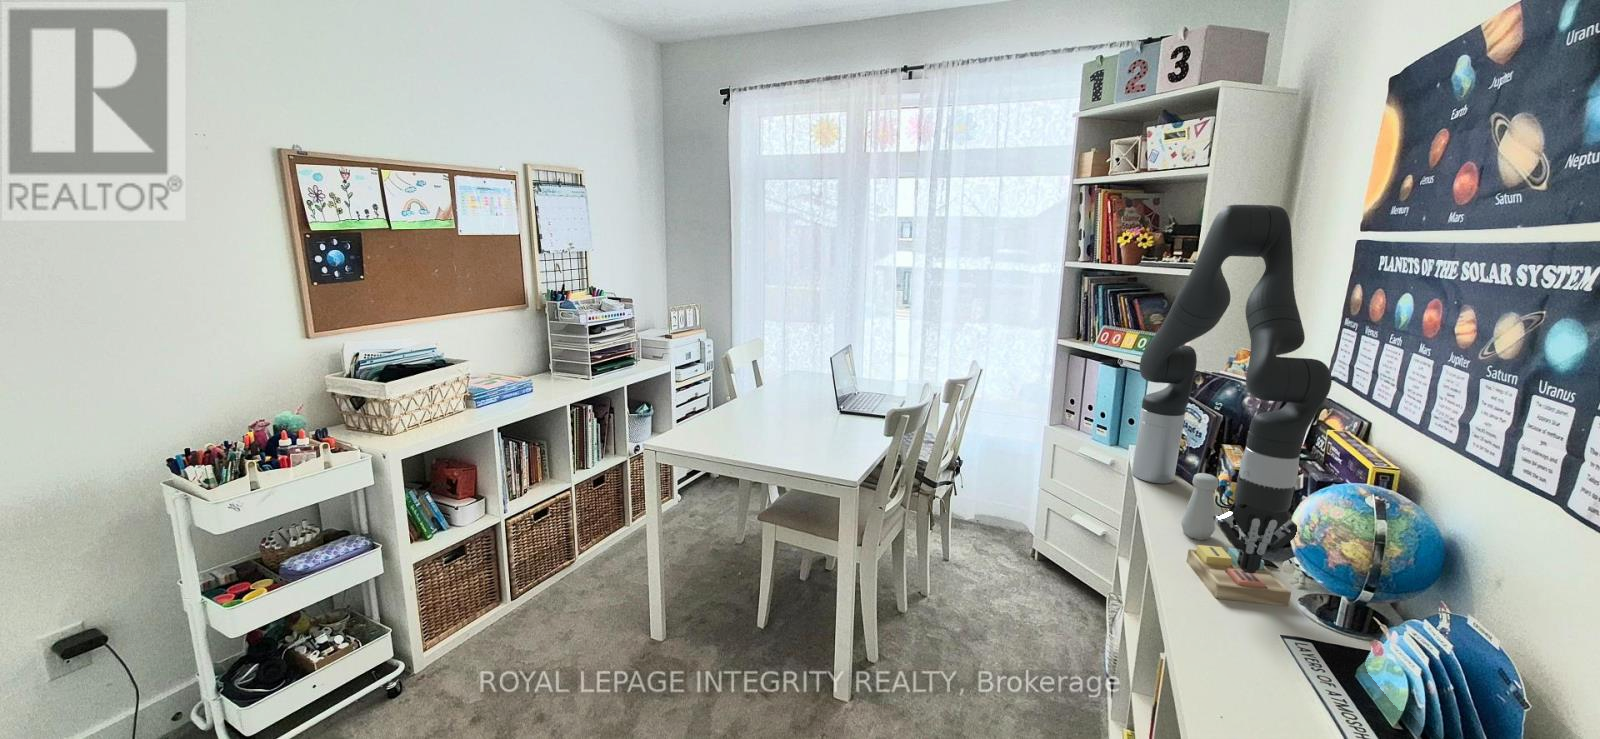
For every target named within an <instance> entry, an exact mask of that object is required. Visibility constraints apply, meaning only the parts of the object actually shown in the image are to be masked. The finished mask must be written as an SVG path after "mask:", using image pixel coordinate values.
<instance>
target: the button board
mask: <svg viewBox="0 0 1600 739" xmlns="http://www.w3.org/2000/svg"><path fill="white" fill-rule="evenodd" d="M1196 550H1197V549H1190V548H1189V549H1188V550H1187V551H1188V552H1187V557H1186V563H1187V564H1188V565H1189V566H1190V568H1191V569H1192V570H1193V572H1194V573H1195V572H1196V573H1195V575H1197V576H1199V577H1200V578H1199V577H1198V578H1199V579H1200V580H1201V581H1203V582H1204V583H1203V582H1202V583H1203V584H1204V586H1206V588H1207V589H1208V590H1209V591H1210V592H1209V593H1211V595H1212V596H1213V597H1214V598H1215V599H1218V600H1228V601H1236V602H1247V603H1256V604H1257V603H1258V604H1267V605H1274V606H1275V605H1276V606H1285V607H1288V606H1289V604H1290V600H1291V597H1292V596H1291V595H1292V592H1291V591H1290V590H1289V589H1288V587H1286V586H1285V584H1283V583H1282V581H1280V580H1279V578H1278V577H1276V576H1275V575H1274V573H1272V572H1271V571H1270V569H1268V568H1267V566H1265V565H1264V567H1263V570H1258V571H1257V570H1256V572H1255V573H1256V574H1257V575H1258V576H1259V577H1260V579H1261V580H1262V581H1263V582H1264V583H1265V588H1259V587H1249V586H1239V585H1237V584H1236V583H1235V582H1234V581H1233V580H1232V579H1231V577H1230V576H1229V575H1228V574H1227V570H1228V568H1229V569H1240V570H1242V569H1241V568H1237V567H1236V566H1235V565H1234V564H1233V563H1232V562H1231V566H1230V567H1225V566H1214V565H1205V564H1204V563H1203V562H1202V561H1201V560H1200V558H1199V557H1198V556H1197V555H1196Z"/></svg>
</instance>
